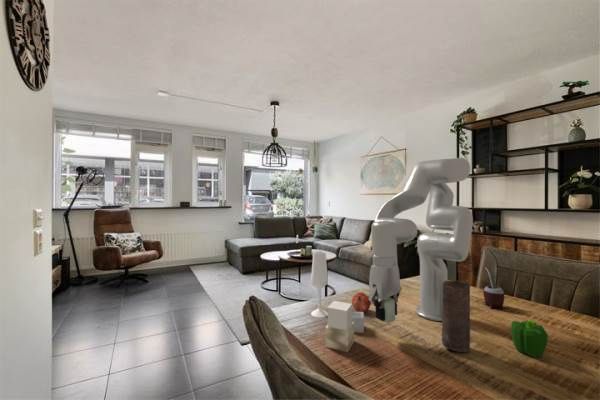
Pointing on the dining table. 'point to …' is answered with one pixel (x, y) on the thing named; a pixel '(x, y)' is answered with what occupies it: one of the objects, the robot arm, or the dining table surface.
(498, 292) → the mate gourd
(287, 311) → the dining table surface
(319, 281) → the champagne flute
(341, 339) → the tower base
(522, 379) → the dining table surface
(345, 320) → the tower top
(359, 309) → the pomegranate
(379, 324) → the dining table surface
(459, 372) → the dining table surface
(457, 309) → the candle
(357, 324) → the grey cube
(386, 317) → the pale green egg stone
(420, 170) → the robot arm
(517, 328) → the bell pepper
